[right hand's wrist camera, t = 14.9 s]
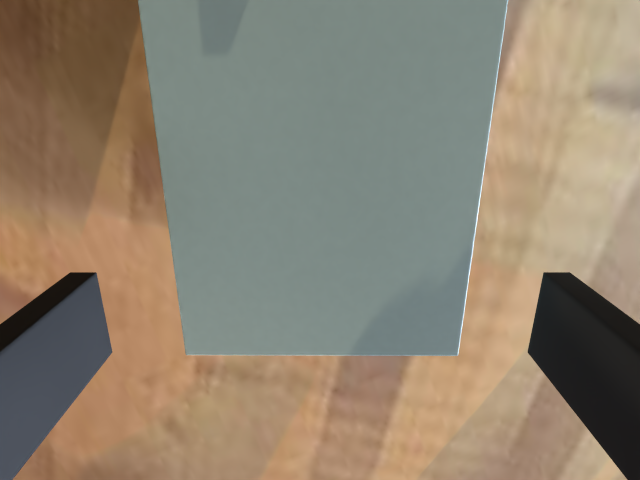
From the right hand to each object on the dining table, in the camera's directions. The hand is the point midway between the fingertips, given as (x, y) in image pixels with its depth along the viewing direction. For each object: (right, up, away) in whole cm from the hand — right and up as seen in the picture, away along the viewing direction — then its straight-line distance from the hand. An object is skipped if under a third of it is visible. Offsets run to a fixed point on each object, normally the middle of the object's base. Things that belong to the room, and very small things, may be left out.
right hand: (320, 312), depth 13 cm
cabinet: (0, +11, +10) cm, 15 cm away
